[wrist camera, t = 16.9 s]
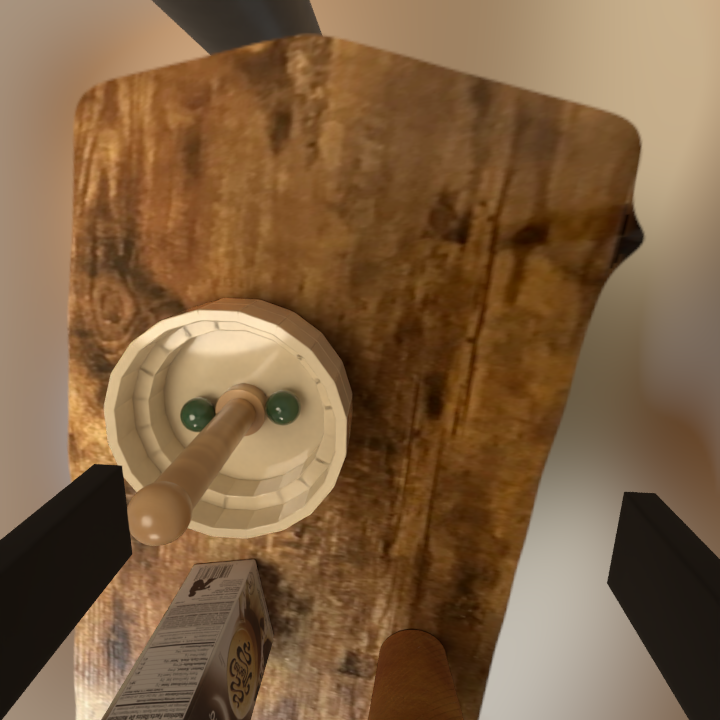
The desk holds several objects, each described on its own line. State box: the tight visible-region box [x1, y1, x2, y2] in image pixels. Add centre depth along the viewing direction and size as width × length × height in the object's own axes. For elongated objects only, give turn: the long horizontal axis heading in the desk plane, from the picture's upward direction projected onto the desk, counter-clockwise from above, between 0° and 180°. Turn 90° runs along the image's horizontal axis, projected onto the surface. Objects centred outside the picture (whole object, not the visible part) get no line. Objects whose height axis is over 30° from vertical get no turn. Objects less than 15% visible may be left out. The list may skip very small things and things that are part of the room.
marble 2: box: [265, 390, 301, 426], centre depth 39 cm, size 3×3×3 cm
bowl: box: [104, 298, 353, 539], centre depth 38 cm, size 18×18×6 cm
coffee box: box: [102, 559, 274, 720], centre depth 39 cm, size 9×6×16 cm
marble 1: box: [180, 397, 216, 432], centre depth 40 cm, size 3×3×3 cm
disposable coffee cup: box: [368, 630, 464, 720], centre depth 41 cm, size 10×10×12 cm
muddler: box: [127, 383, 267, 546], centre depth 32 cm, size 4×4×17 cm
